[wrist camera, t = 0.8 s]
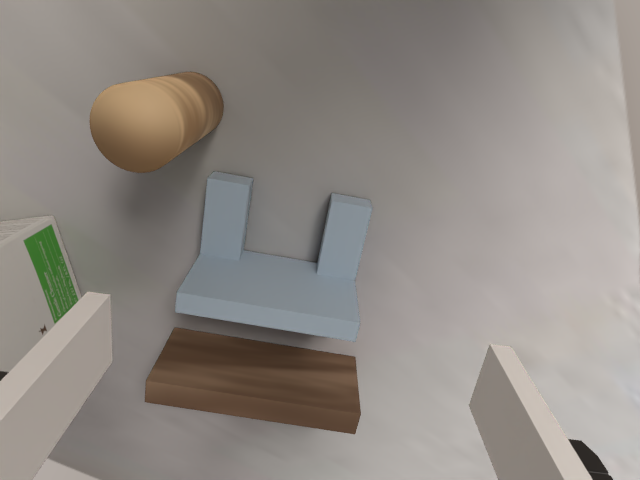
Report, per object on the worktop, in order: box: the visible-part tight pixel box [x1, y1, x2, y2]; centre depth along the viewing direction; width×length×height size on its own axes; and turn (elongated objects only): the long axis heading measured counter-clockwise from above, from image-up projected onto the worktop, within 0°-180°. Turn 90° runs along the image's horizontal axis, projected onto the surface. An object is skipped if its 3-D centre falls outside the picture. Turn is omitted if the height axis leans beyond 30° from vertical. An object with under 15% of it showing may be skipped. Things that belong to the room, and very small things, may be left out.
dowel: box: [90, 72, 224, 173], centre depth 28 cm, size 4×4×11 cm
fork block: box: [175, 171, 373, 342], centre depth 34 cm, size 10×12×8 cm
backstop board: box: [145, 328, 361, 434], centre depth 38 cm, size 2×16×7 cm, turn 79°
